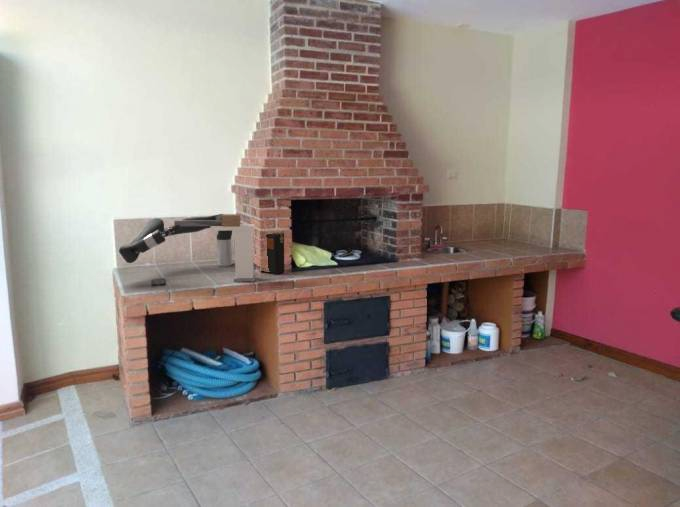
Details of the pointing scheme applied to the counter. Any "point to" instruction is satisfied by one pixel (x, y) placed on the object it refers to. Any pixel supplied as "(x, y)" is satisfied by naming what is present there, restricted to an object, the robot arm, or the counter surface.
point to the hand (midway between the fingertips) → (180, 225)
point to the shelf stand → (242, 251)
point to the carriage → (212, 221)
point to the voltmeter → (275, 252)
